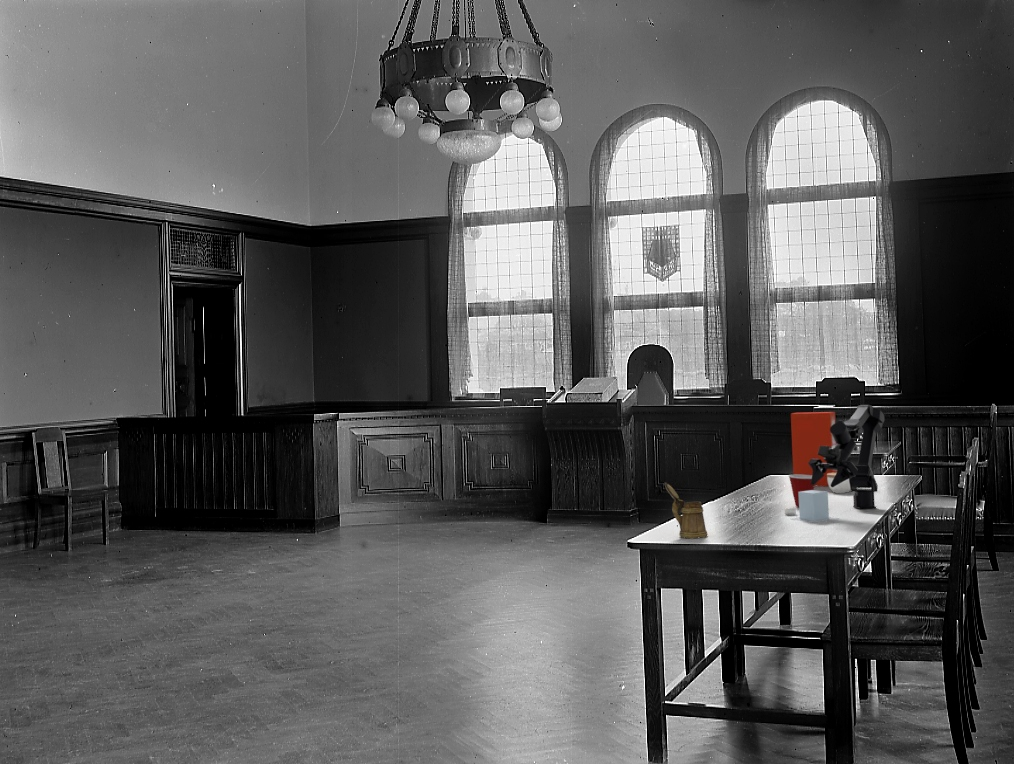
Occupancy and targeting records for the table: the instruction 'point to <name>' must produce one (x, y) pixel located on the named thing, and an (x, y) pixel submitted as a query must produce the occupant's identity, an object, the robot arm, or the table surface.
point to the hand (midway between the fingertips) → (821, 485)
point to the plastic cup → (800, 485)
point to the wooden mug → (688, 516)
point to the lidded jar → (840, 487)
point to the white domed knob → (790, 510)
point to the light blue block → (813, 505)
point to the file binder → (811, 441)
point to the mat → (814, 521)
